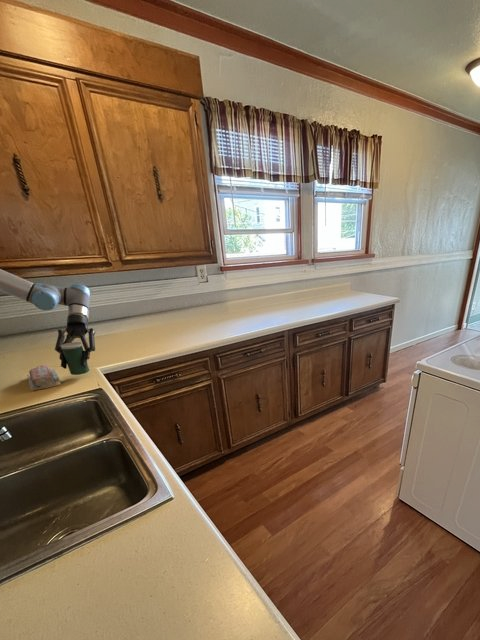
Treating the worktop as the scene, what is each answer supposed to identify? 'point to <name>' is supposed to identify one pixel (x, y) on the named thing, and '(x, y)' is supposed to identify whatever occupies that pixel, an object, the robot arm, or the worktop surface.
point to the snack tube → (74, 358)
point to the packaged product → (42, 378)
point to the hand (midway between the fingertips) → (73, 366)
